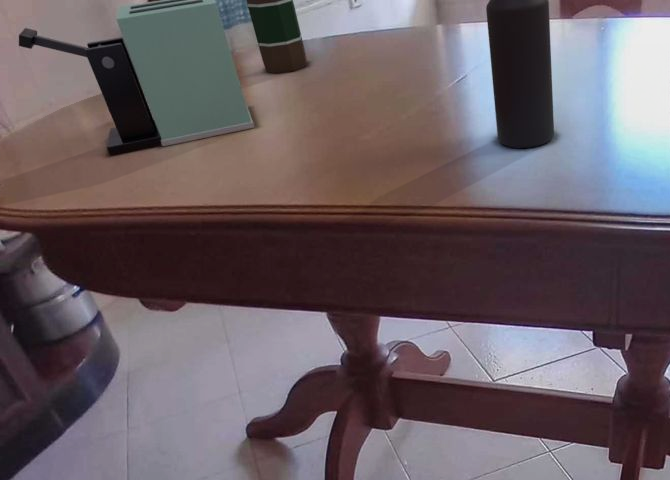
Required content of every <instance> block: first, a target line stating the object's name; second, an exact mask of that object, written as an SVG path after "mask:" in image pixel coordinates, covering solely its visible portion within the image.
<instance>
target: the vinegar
mask: <svg viewBox="0 0 670 480" xmlns="http://www.w3.org/2000/svg"><path fill="white" fill-rule="evenodd" d="M485 10H486V22H487V34H488V45H489V56H490V67H491V79H492V88H493V100H494V111H495V122H496V134H497V135H496V136H497V139H498V142H499V143H500V144H501V145H504V146H505V147H508V148H514V149H526V148H527V149H529V148H534V147H540V146H542V145H545V144H546V143H549V142H550V141H551V140H552V139H553V138H554V135H555V121H554V119H555V118H554V97H553V96H554V94H553V73H552V72H553V71H552V70H553V69H552V49H551V48H552V47H551V46H552V45H551V25H550V24H551V22H550V2H549V0H489V1H488V2H487V4H486V7H485Z"/></svg>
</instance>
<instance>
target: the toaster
mask: <svg viewBox="0 0 670 480" xmlns="http://www.w3.org/2000/svg"><path fill="white" fill-rule="evenodd" d="M115 20H116V22H117V25H118V28H119V31H120V34H121V37H123V40H124V42H125V45H126V47H127V50H128V53H129V55H130V58H131V61H132V63H133V66H134V69H135V71H136V74H137V77H138V79H139V82H140V84H141V87H142V90H143V92H144V95H145V98H146V100H147V103H148V106H149V108H150V111H151V113H152V116H153V119H154V120H155V123H156V126H157V128H158V131H159V134H160V136H161V144H162V145H161V146H162V147H167V146H168V147H169V146H172V145H173V146H174V145H178V144H182V143H187V142H193V141H197V140H203V139H207V138H212V137H215V136H221V135H226V134H231V133H235V132H240V131H245V130H250V129H254V128H255V125H254V120H253V118H252V115H251V113H250V109H249V107H248V104H247V102H246V99H245V95H244V93H243V89H242V85H241V83H240V79H239V76H238V72H237V68H236V65H235V62H234V59H233V55H232V52H231V49H230V44H229V41H228V39H227V35H226V31H225V28H224V24H223V22H222V21H223V20H222V18H221V15H220V12H219V8H218V5H217V1H216V0H154V1H148V2H143V3H137V4H129V5H124V6H120V7H119V9H118V13H117V16H116V19H115Z"/></svg>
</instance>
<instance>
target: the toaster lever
mask: <svg viewBox="0 0 670 480" xmlns="http://www.w3.org/2000/svg"><path fill="white" fill-rule="evenodd" d="M34 46H39V47H43V48H47V49H50V50H55V51H58V52H62V53H63V52H64V53H67V54H72V55H74V56H75V55H76V56H80V57H84V58H87V56H86V53H85V49H87V48H88V47H87V46H82V45H78V44H75V43H69V42H66V41H61V40H57V39H54V38H50V37H45V36H42V35H38V30H35V29H31V28H29V27H28V28H27V27H24V28H23V30H22V31H21V32H20V33H19V35H18V47H22V48H25V49H30V50H31V49H33V48H34ZM99 46H105V45H101V44H99V45H98V47H99Z"/></svg>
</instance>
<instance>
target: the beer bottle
mask: <svg viewBox="0 0 670 480" xmlns="http://www.w3.org/2000/svg"><path fill="white" fill-rule="evenodd" d="M245 1H246V4H247V9H248V12H249V15H250V19H251V24H252V27H253V31H254V34H255V37H256V42H257V46H258V50H259V52H260V57H261V60H262V63H263V66H264V69H265V71H266V72H267V73H271V74H283V73H292V72H296V71H298V70H301V69H304V68H306V66H307V55H306V50H305V45H304V40H303V37H302V33H301V29H300V24H299V19H298V16H297V12H296V7H295V3H294V0H245Z"/></svg>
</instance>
